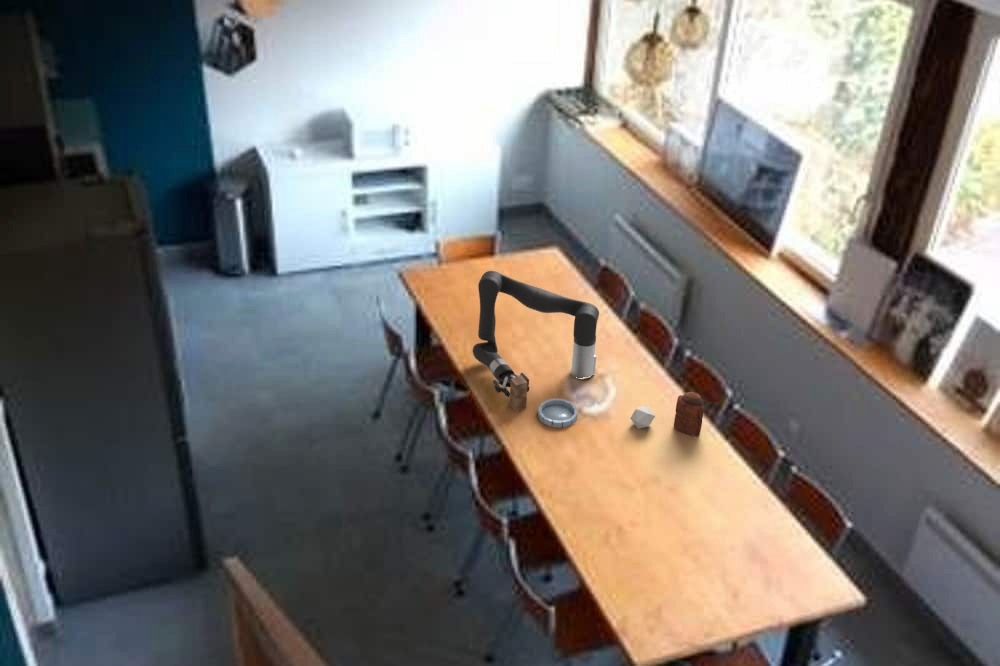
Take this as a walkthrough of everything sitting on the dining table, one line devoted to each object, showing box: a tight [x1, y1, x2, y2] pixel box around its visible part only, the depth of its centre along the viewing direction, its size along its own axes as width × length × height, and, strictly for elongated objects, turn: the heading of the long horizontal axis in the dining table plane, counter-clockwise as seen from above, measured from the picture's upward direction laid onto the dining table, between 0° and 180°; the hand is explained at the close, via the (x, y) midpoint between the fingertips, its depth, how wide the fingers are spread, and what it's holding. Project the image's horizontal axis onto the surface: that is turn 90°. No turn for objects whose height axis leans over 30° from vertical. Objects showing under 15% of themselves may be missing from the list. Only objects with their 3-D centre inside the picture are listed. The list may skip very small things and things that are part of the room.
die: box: [629, 405, 656, 430], centre depth 413 cm, size 8×9×10 cm
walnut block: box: [509, 376, 528, 412], centre depth 420 cm, size 5×5×13 cm
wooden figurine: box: [673, 391, 705, 437], centre depth 409 cm, size 12×6×18 cm, turn 61°
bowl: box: [537, 397, 578, 429], centre depth 419 cm, size 16×16×3 cm
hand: (518, 392), depth 420 cm, fingers open, 8 cm apart
